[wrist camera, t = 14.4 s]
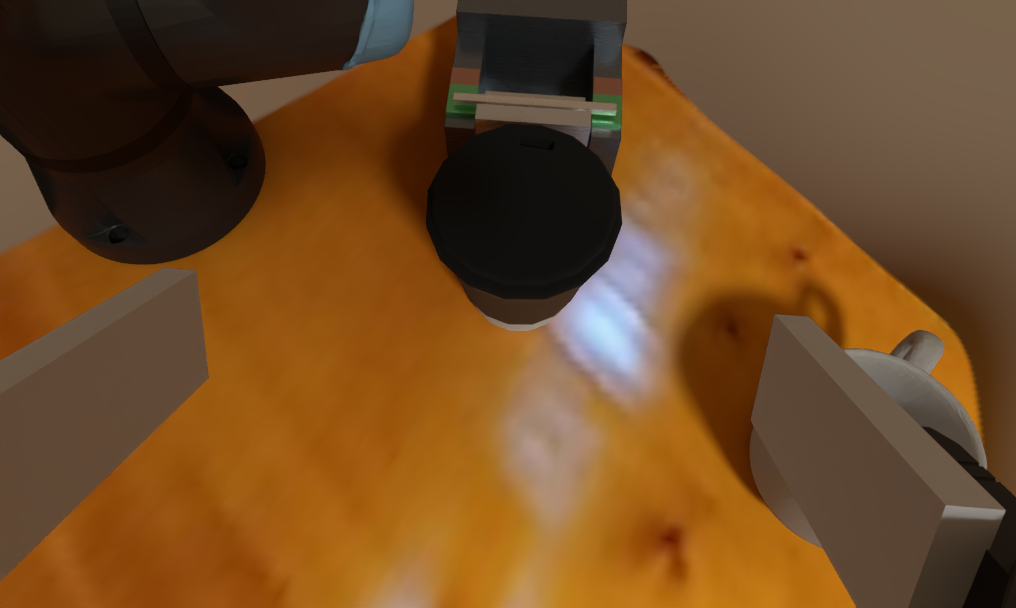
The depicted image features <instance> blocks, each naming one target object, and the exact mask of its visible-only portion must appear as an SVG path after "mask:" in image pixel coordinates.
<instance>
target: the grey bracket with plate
mask: <svg viewBox="0 0 1016 608" xmlns="http://www.w3.org/2000/svg"><path fill="white" fill-rule="evenodd" d="M453 105H467V106H477V108H476V116H475V126H476V135H477V134H480V133H483V132H486V131H489V130H492V129H495V128H498V127H501V126H504V125H542V126H545V127H548V128H551V129H554V130H557V131H560V132H563V133H566V134H569V135H572V136H574V137H575V138H576V139H578V140H579V141H580V142H581V143H583V144H584V145H585V146H587V144H588V139H589V134H590V129H591V114H597V115H611V116H615V115H616V105H617V104H613V103H599V102H585V98H583V97H568V96H554V95H539V94H524V93H510V92H495V91H486V93H485V95H483V94H468V93H454V96H453Z"/></svg>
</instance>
